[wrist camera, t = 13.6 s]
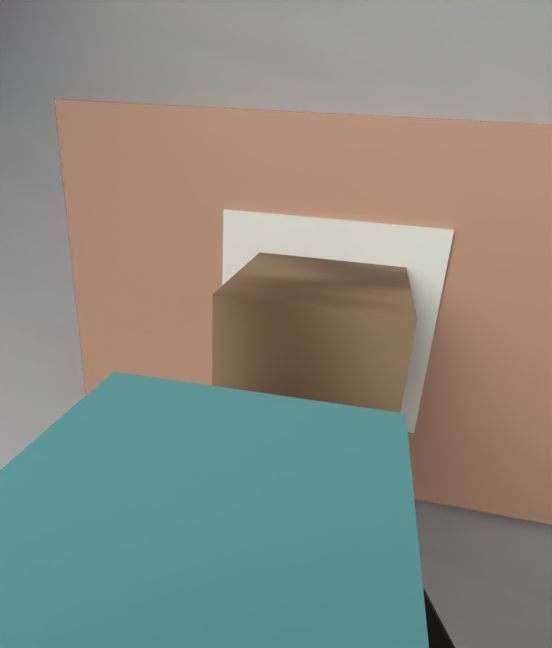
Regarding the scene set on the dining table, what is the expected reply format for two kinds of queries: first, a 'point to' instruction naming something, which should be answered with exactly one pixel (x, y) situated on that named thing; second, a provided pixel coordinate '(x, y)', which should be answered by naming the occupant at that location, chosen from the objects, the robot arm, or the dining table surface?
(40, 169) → the dining table surface
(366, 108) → the dining table surface
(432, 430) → the baseplate
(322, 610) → the teal block
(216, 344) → the walnut block
